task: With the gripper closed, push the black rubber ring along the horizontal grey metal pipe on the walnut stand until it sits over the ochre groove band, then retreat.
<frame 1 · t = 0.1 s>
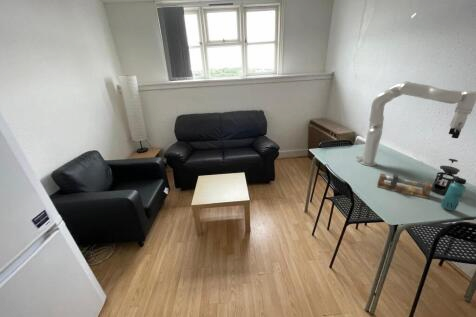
hand: (452, 136, 140), 31 cm above the table, fingers open, 9 cm apart
beverage bottle: (447, 209, 118), on the table
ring: (394, 179, 138), point 6 cm above the table, slide at -5.0 cm
pipe stand: (401, 189, 138), on the table
french press: (440, 191, 134), on the table
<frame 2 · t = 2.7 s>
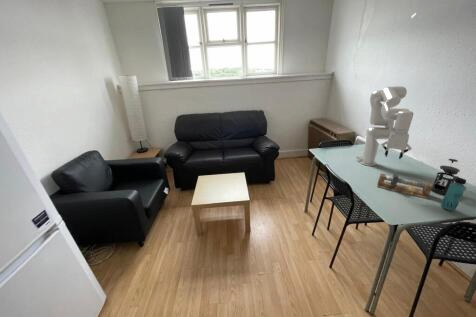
hand: (392, 157, 134), 22 cm above the table, fingers open, 6 cm apart
nothing on the table moved.
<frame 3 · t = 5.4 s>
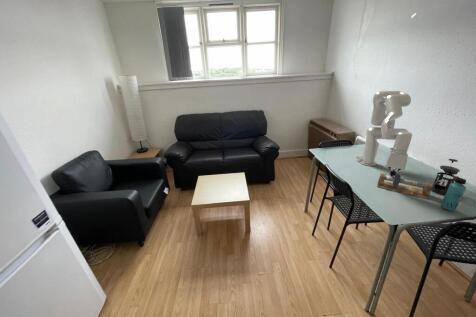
hand: (392, 175, 138), 8 cm above the table, fingers closed
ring: (396, 180, 137), point 6 cm above the table, slide at -4.0 cm, touching gripper
everything else where it was.
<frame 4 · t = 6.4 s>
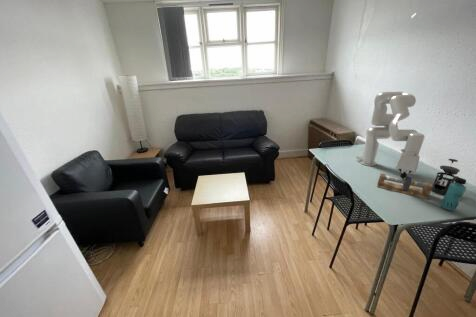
hand: (402, 178, 135), 8 cm above the table, fingers closed
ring: (407, 182, 134), point 6 cm above the table, slide at 1.7 cm, touching gripper
everything else where it was.
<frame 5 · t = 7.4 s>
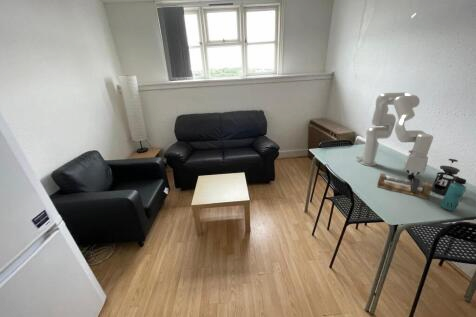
hand: (410, 179, 133), 8 cm above the table, fingers closed
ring: (414, 183, 132), point 6 cm above the table, slide at 5.7 cm, touching gripper
everything else where it was.
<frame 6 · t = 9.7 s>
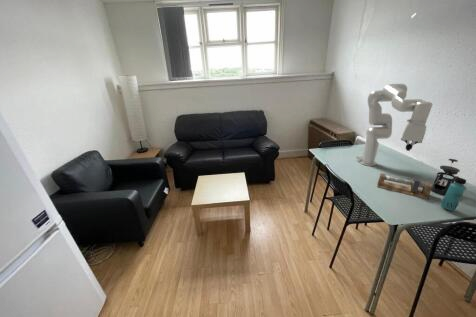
hand: (407, 150, 132), 26 cm above the table, fingers closed
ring: (415, 184, 132), point 6 cm above the table, slide at 5.8 cm
everything else where it was.
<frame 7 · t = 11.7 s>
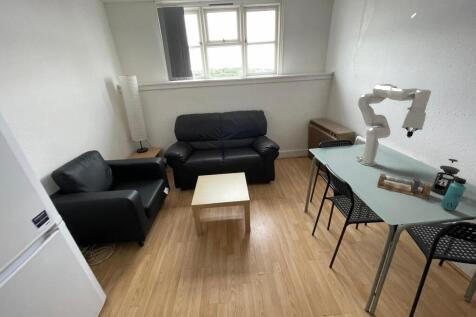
hand: (408, 137, 138), 32 cm above the table, fingers closed
nothing on the table moved.
at the end: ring slide at 5.8 cm; the gripper is holding nothing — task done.
